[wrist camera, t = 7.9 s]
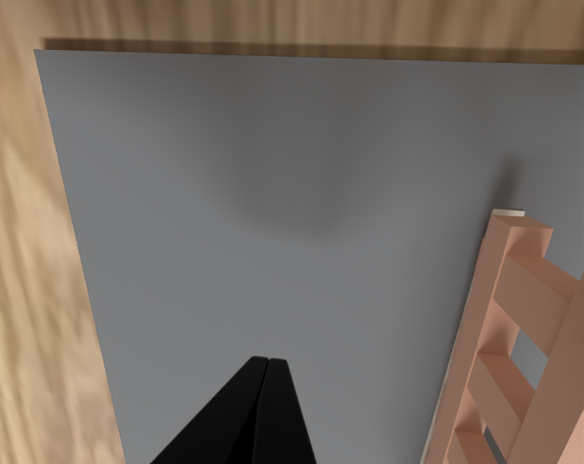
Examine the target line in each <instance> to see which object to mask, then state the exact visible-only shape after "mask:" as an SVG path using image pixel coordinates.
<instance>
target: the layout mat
mask: <svg viewBox="0 0 584 464" xmlns="http://www.w3.org/2000/svg"><path fill="white" fill-rule="evenodd" d="M34 53H35V57H36V62H37V66H38V71H39V75H40V80H41V84H42V89H43V93H44V98H45V102H46V107H47V111H48V116H49V120H50V125H51V129H52V134H53V138H54V142H55V147H56V151H57V156H58V160H59V165H60V169H61V174H62V178H63V183H64V187H65V192H66V196H67V201H68V205H69V210H70V214H71V218H72V223H73V227H74V232H75V236H76V241H77V245H78V250H79V254H80V259H81V263H82V268H83V272H84V277H85V281H86V286H87V290H88V295H89V299H90V303H91V308H92V312H93V317H94V321H95V326H96V330H97V335H98V339H99V344H100V348H101V353H102V357H103V362H104V366H105V371H106V375H107V379H108V384H109V388H110V393H111V397H112V402H113V406H114V411H115V415H116V420H117V424H118V429H119V433H120V438H121V442H122V447H123V451H124V456H125V460H126V464H150V463H151V462H152V461H153V460H154V459H155V457H156V456H157V455H158V454H159V453H160V452H161V451H162V450H163V449H164V448H165V447H166V446H167V445H168V444H169V443H170V442H171V441H172V440H173V439H174V437H175V436H176V435H177V434H178V433H179V432H180V431H181V430H182V429H183V428H184V427H185V426H186V425H187V424H188V423H189V422H190V421H191V420H192V419H193V417H194V416H195V415H196V414H197V413H198V412H199V411H200V410H201V409H202V408H203V407H204V406H205V405H206V404H207V403H208V402H209V401H210V400H211V399H212V397H213V396H214V395H215V394H216V393H217V392H218V391H219V390H220V389H221V388H222V387H223V386H224V385H225V384H226V383H227V382H228V381H229V380H230V379H231V377H232V376H233V375H234V374H235V373H236V372H237V371H238V370H239V369H240V368H241V367H242V366H243V365H244V364H245V363H246V362H247V361H248V360H249V358H250V357H252V356H263V357H268V358H269V360H270V358H280V359H286V360H287V362H288V365H289V368H290V372H291V375H292V379H293V382H294V386H295V389H296V393H297V396H298V400H299V403H300V406H301V410H302V413H303V417H304V420H305V424H306V427H307V431H308V434H309V438H310V441H311V444H312V448H313V451H314V455H315V458H316V462H317V464H425V460H426V457H428V455H429V451H430V447H431V443H432V440H433V436H434V432H435V428H436V426H435V421H436V417H437V414H438V410H439V406H440V402H441V398H444V394H445V390H446V386H447V382H448V379H449V375H450V371H451V367H452V363H453V360H452V356H453V352H454V348H455V344H456V340H457V336H458V333H459V329H460V327H462V325H463V321H464V318H465V314H466V310H467V306H468V302H469V298H470V295H471V291H472V287H473V283H474V278H473V275H474V271H475V267H476V263H477V259H478V255H479V252H480V248H481V244H482V240H483V238H485V237H486V234H487V230H488V226H489V222H490V218H491V215H504V216H524V217H531V218H533V219H535V220H537V221H539V222H541V223H543V224H545V225H547V226H549V227H551V228H553V229H554V230H553V233H552V236H551V239H550V242H549V245H548V247H547V250H546V253H545V256H544V258H545V259H546V260H548V261H549V262H551V263H552V264H554V265H555V266H557V267H559V268H560V269H562V270H563V271H565V272H566V273H568V274H570V275H571V276H573V277H574V278H576V279H577V280H579V281H580V279H581V277H582V274H583V272H584V65H563V64H528V63H494V62H459V61H424V60H389V59H354V58H319V57H284V56H249V55H214V54H179V53H144V52H109V51H74V50H39V49H34ZM510 359H511V360H512V361H513V363H514V364H515V365H516V366H517V368H518V369H519V370H520V372H521V373H522V374H523V376H524V377H525V378H526V379H527V381H528V382H529V383H530V385H531V386H532V387H533V389H534V390H535V391H536V389H537V387H538V384H539V382H540V379H541V377H542V374H543V372H544V369H545V367H546V364H547V362H548V358H547V357H546V355H545V354H544V353H543V352H542V351H541V350H540V349H539V348H538V347H537V346H536V345H535V344H534V343H533V341H532V340H531V339H530V338H529V337H528V336H527V335H526V334H525V333H524V332H523V331H522V330H521V328H520V329H519V332H518V335H517V338H516V341H515V344H514V347H513V349H512V352H511V355H510ZM483 435H484V437H485V439H486V441H487V443H488V445H489V447H490V449H491V451H492V453H493V455H494V457H495V459H496V461H497V463H498V464H507V462H506V461H505V459H504V457H503V455H502V453H501V451H500V449H499V447H498V445H497V443H496V441H495V440H494V438H493V436H492V434H491V432H490V430H489V428H488V426H487V425H486V428H485V431H484V434H483Z"/></svg>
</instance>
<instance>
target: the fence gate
mask: <svg viewBox="0 0 584 464" xmlns="http://www.w3.org/2000/svg"><path fill="white" fill-rule="evenodd" d="M553 230H554V229H553V228H551V227H549V226H547V225H545V224H543V223H541V222H539V221H537V220H535V219H533V218H531V217H524V216H504V215H491V218H490V222H489V226H488V230H487V234H486V237H485V238H483V240H482V244H481V248H480V252H479V255H478V259H477V263H476V267H475V271H474V275H473V278H474V283H473V287H472V291H471V295H470V298H469V302H468V306H467V310H466V314H465V318H464V321H463V325H462V327H460V329H459V333H458V336H457V340H456V344H455V348H454V352H453V356H452V360H453V363H452V367H451V371H450V375H449V379H448V382H447V386H446V390H445V394H444V398H441V402H440V406H439V410H438V414H437V417H436V421H435V426H436V428H435V432H434V436H433V440H432V443H431V447H430V451H429V455H428V457H426V460H425V464H498V463H497V461H496V459H495V457H494V455H493V453H492V451H491V449H490V447H489V445H488V443H487V441H486V439H485V437H484V435H483V434H484V431H485V428H486V425H487V426H488V428H489V430H490V432H491V434H492V436H493V438H494V440H495V441H496V443H497V445H498V447H499V449H500V451H501V453H502V455H503V457H504V459H505V461H506V462H507V464H584V272H583V274H582V277H581V279H580V281H579V280H577V279H576V278H574V277H573V276H571V275H570V274H568V273H566V272H565V271H563V270H562V269H560V268H559V267H557V266H555V265H554V264H552V263H551V262H549V261H548V260H546V259H545V258H544V256H545V253H546V250H547V247H548V245H549V242H550V239H551V236H552V233H553ZM520 328H521V330H522V331H523V332H524V333H525V334H526V335H527V336H528V337H529V338H530V339H531V340H532V341H533V343H534V344H535V345H536V346H537V347H538V348H539V349H540V350H541V351H542V352H543V353H544V354H545V355H546V357H547V358H548V362H547V364H546V367H545V369H544V372H543V374H542V377H541V379H540V382H539V384H538V387H537V389H536V391H535V390H534V389H533V387H532V386H531V385H530V383H529V382H528V381H527V379H526V378H525V377H524V376H523V374H522V373H521V372H520V370H519V369H518V368H517V366H516V365H515V364H514V363H513V361H512V360H511V359H510V355H511V352H512V349H513V347H514V344H515V341H516V338H517V335H518V332H519V329H520Z"/></svg>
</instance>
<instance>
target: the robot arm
mask: <svg viewBox="0 0 584 464" xmlns="http://www.w3.org/2000/svg"><path fill="white" fill-rule="evenodd" d="M150 464H317V462H316V458H315V455H314V451H313V448H312V444H311V441H310V438H309V434H308V431H307V427H306V424H305V420H304V417H303V413H302V410H301V406H300V403H299V400H298V396H297V393H296V389H295V386H294V382H293V379H292V375H291V372H290V368H289V365H288V362H287V360H286V359H280V358H270V360H269V358H268V357H263V356H252V357H250V358H249V360H248V361H247V362H246V363H245V364H244V365H243V366H242V367H241V368H240V369H239V370H238V371H237V372H236V373H235V374H234V375H233V376H232V377H231V379H230V380H229V381H228V382H227V383H226V384H225V385H224V386H223V387H222V388H221V389H220V390H219V391H218V392H217V393H216V394H215V395H214V396H213V397H212V399H211V400H210V401H209V402H208V403H207V404H206V405H205V406H204V407H203V408H202V409H201V410H200V411H199V412H198V413H197V414H196V415H195V416H194V417H193V419H192V420H191V421H190V422H189V423H188V424H187V425H186V426H185V427H184V428H183V429H182V430H181V431H180V432H179V433H178V434H177V435H176V436H175V437H174V439H173V440H172V441H171V442H170V443H169V444H168V445H167V446H166V447H165V448H164V449H163V450H162V451H161V452H160V453H159V454H158V455H157V456H156V457H155V459H154V460H153V461H152V462H151V463H150Z"/></svg>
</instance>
